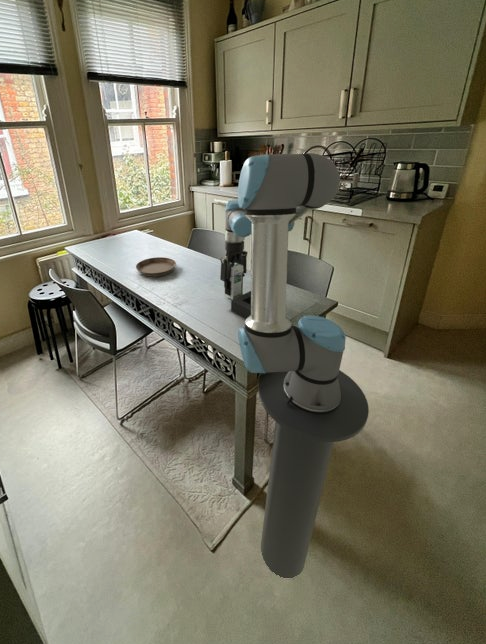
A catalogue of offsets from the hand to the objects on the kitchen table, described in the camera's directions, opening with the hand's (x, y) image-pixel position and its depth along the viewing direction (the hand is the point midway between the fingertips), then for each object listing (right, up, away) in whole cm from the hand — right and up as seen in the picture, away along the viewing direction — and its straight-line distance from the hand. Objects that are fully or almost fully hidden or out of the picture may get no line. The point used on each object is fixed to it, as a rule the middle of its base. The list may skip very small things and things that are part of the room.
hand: (233, 291), depth 135 cm
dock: (+7, -7, -10) cm, 14 cm away
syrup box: (0, -2, +1) cm, 2 cm away
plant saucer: (-36, +9, +29) cm, 47 cm away
